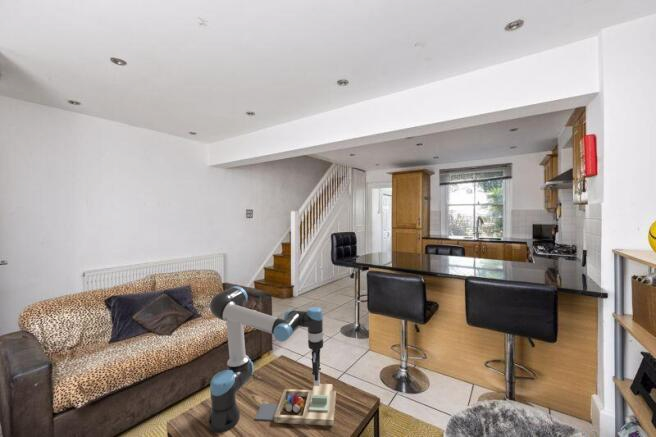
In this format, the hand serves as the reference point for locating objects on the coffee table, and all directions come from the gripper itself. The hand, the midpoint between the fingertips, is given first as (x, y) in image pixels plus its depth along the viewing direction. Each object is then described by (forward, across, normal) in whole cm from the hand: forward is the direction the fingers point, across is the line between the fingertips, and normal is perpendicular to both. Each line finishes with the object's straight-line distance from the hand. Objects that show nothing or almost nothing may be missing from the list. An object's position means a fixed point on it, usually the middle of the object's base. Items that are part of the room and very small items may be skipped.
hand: (316, 384), depth 139 cm
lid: (+15, +7, 0) cm, 17 cm away
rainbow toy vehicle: (+19, +7, +14) cm, 25 cm away
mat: (+18, +3, +27) cm, 33 cm away
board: (+18, +10, +7) cm, 22 cm away
